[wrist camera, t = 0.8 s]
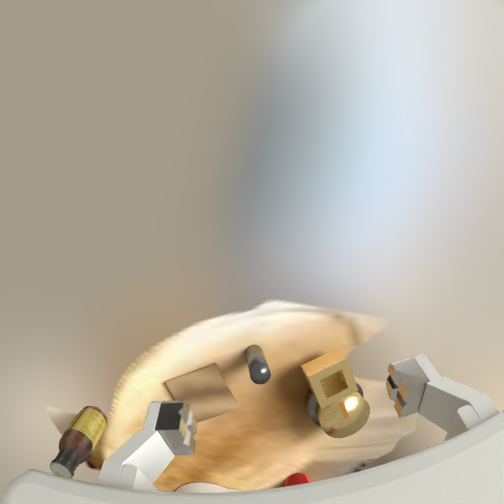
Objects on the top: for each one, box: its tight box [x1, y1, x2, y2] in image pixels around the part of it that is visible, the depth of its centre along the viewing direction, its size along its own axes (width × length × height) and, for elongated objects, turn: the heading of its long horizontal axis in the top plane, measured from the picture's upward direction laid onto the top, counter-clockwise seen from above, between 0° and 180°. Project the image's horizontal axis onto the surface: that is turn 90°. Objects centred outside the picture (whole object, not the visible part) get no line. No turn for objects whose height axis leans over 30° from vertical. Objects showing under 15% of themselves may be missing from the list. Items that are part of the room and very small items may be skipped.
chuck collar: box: [301, 348, 370, 438], centre depth 49 cm, size 16×9×5 cm, turn 23°
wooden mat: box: [166, 363, 238, 422], centre depth 52 cm, size 10×10×1 cm
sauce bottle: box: [50, 406, 107, 479], centre depth 41 cm, size 6×6×20 cm
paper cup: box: [285, 473, 311, 487], centre depth 48 cm, size 8×8×14 cm
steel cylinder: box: [246, 345, 271, 384], centre depth 48 cm, size 3×3×10 cm
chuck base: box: [305, 383, 363, 426], centre depth 54 cm, size 11×11×3 cm
